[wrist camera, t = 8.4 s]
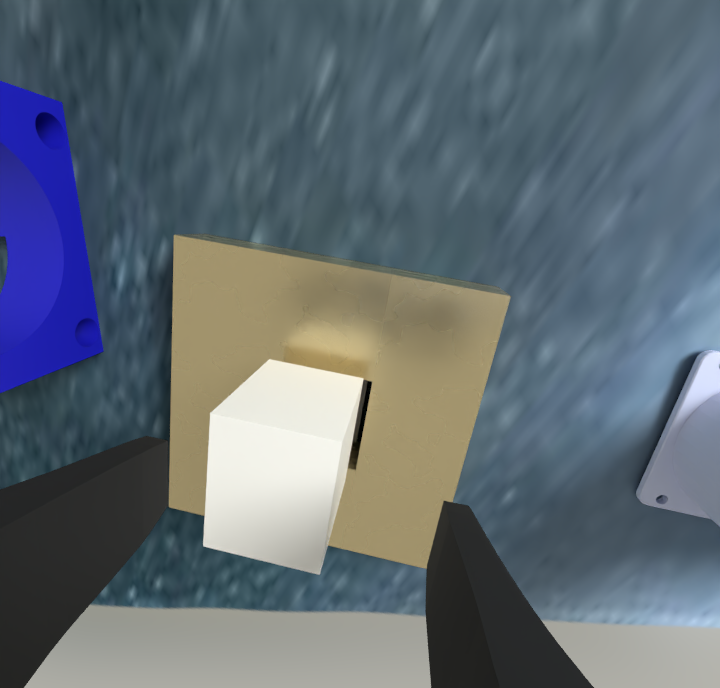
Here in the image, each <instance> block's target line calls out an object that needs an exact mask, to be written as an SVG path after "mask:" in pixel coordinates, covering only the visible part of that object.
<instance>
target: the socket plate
mask: <svg viewBox="0 0 720 688" xmlns="http://www.w3.org/2000/svg"><path fill="white" fill-rule="evenodd" d="M510 297H511V296H510V295H508V294H507V293H506V292H504V291H503V290H502V289H500V288H499V287H496V286H490V285H485V284H479V283H474V282H468V281H463V280H457V279H452V278H446V277H441V276H435V275H429V274H424V273H418V272H413V271H407V270H402V269H396V268H391V267H385V266H380V265H374V264H369V263H363V262H358V261H352V260H347V259H341V258H336V257H330V256H324V255H319V254H313V253H308V252H302V251H297V250H291V249H286V248H280V247H275V246H269V245H264V244H258V243H253V242H247V241H242V240H236V239H230V238H225V237H219V236H214V235H208V234H183V235H174V259H173V311H172V364H171V416H170V469H169V507H170V508H174V509H178V510H183V511H187V512H191V513H195V514H199V515H204V516H205V502H206V483H207V464H208V445H209V426H210V413H211V412H212V411H213V410H214V409H215V408H216V407H218V406H219V405H220V404H221V403H222V402H223V401H224V400H225V399H226V398H227V397H228V396H230V395H231V394H232V393H233V392H234V391H235V390H236V389H237V388H238V387H239V386H240V385H242V384H243V383H244V382H245V381H246V380H247V379H248V378H249V377H250V376H251V375H253V374H254V373H255V372H256V371H257V370H258V369H259V368H260V367H261V366H262V365H263V364H265V363H266V362H267V361H268V360H269V359H271V360H276V361H281V362H286V363H291V364H296V365H301V366H306V367H310V368H315V369H320V370H325V371H330V372H335V373H340V374H345V375H350V376H355V377H359V378H364V379H363V380H368V381H372V386H371V392H370V397H369V402H368V408H367V413H366V418H365V424H364V429H363V434H362V440H361V442H352V446H351V452H350V457H349V463H348V469H347V474H346V480H345V484H344V487H343V491H342V495H341V498H340V502H339V506H338V509H337V513H336V517H335V520H334V524H333V528H332V531H331V535H330V539H329V542H328V545H329V546H333V547H337V548H341V549H345V550H350V551H354V552H358V553H362V554H366V555H371V556H375V557H379V558H383V559H387V560H391V561H396V562H400V563H404V564H408V565H412V566H416V567H421V568H425V569H427V563H428V559H429V556H430V552H431V548H432V544H433V540H434V536H435V532H436V528H437V525H438V521H439V517H440V513H441V509H442V505H443V501H448V502H453V498H454V495H455V491H456V488H457V484H458V481H459V477H460V473H461V470H462V466H463V463H464V459H465V456H466V452H467V449H468V445H469V442H470V438H471V435H472V431H473V428H474V424H475V421H476V417H477V413H478V410H479V406H480V403H481V399H482V396H483V392H484V389H485V385H486V382H487V378H488V375H489V371H490V368H491V364H492V360H493V357H494V353H495V350H496V346H497V343H498V339H499V336H500V332H501V329H502V325H503V322H504V318H505V315H506V311H507V308H508V304H509V300H510Z"/></svg>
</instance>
